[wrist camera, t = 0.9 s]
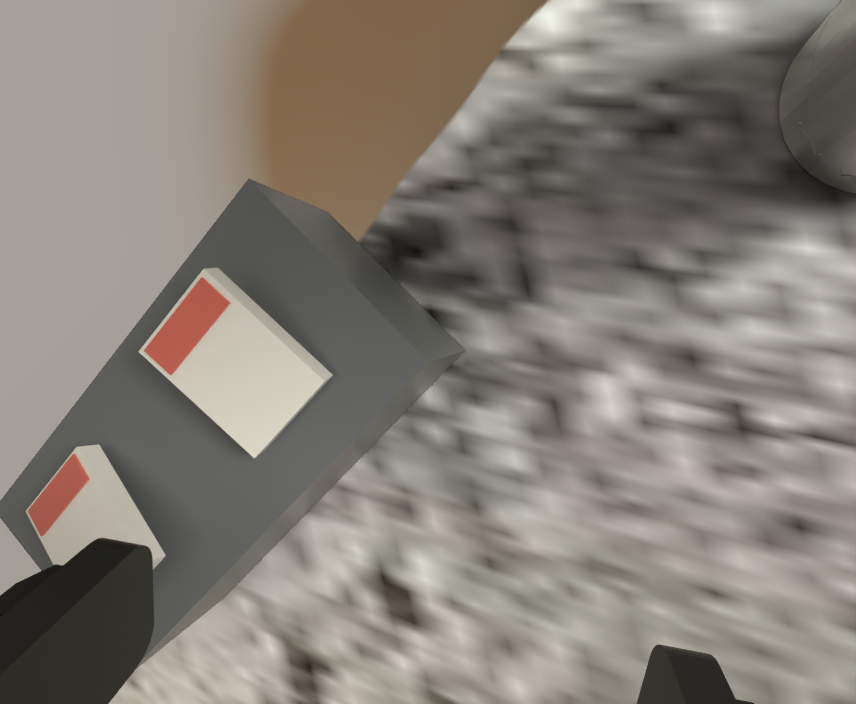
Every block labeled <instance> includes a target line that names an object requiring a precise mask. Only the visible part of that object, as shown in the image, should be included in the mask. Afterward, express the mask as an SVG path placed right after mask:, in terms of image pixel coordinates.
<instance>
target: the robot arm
mask: <svg viewBox="0 0 856 704" xmlns="http://www.w3.org/2000/svg"><path fill="white" fill-rule="evenodd" d="M779 120H780V126H781V129H782V133H783V137H784V140H785V142H786V144H787V146H788V148H789V150H790V151H791V153H792V155H793V157H794V158H795V159H796V160H797V161H798V163H799V164H800V165H801V166H802V167H803V168H804V169H805V170H806V171H807V172H808V173H809V174H811V175H812V176H814V177H815V178H817V179H819V180H820V181H822V182H823V183H825V184H827V185H829V186H832V187H834V188H837V189H840V190H842V191H845V192H850V193H856V0H841V2H840V3H839V4H838V5H837V6H836V8H835V9H834V10H833V11H832V12H831V13H830V15H829V16H828V17H827V18H826V19H825V20H824V22H823V23H822V24H821V25H820V26H819V28H818V29H817V30H816V31H815V32H814V33H813V35H812V36H811V37H810V38H809V39H808V41H807V42H806V43H805V44H804V46H803V47H802V48H801V50H800V51H799V53H798V54H797V56H796V57H795V58H794V60H793V61H792V63H791V65H790V68H789V70H788V72H787V74H786V77H785V79H784V81H783V85H782V90H781V95H780V100H779ZM153 628H154V596H153V559H152V553H151V550H150V548H149V547H147V546H145V545H140V544H134V543H129V542H124V541H118V540H113V539H108V538H98V539H96V540H94V541H92V542H91V543H90V544H88V545H87V546H86V547H85V548H84V549H82V550H81V551H80V552H79V553H77V554H76V555H75V556H74V557H73V558H71V559H70V560H69V561H68V562H67V563H65V564H64V565H63V566H62V565H57V564H55V565H53V566H51V567H49V568H47V569H45V570H43V571H41V572H39V573H37V574H35V575H33V576H31V577H28V578H27V579H24V580H22V581H20V582H18V583H16V584H15V585H13V586H12V587H11V588H10V589H8V590H7V591H6V592H4V593H3V594H2V595H1V596H0V704H108V703H109V702H110V701H111V700H112V698H113V697H114V696H115V694H116V693H117V692H118V691H119V689H120V688H121V687H122V686H123V684H124V683H125V682H126V680H127V679H128V678H129V677H130V675H131V674H132V673H133V672H134V670H135V669H136V668H137V666H138V665H139V663H140V662H141V660H142V659H143V657H144V655H145V653H146V651H147V648H148V646H149V643H150V641H151V637H152V633H153ZM637 704H754V703H752V702H747V701H741V700H736V699H735V697H734V695H733V693H732V691H731V689H730V687H729V684H728V682H727V680H726V678H725V676H724V674H723V672H722V670H721V668H720V666H719V664H718V662H717V660H716V659H715V658H714V657H713V656H712V655H710V654H706V653H701V652H696V651H690V650H685V649H680V648H675V647H669V646H664V645H656V646H655V647H654V648H653V650H652V652H651V655H650V659H649V662H648V666H647V669H646V673H645V676H644V680H643V683H642V687H641V690H640V694H639V698H638V701H637Z"/></svg>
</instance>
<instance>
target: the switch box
mask: <svg viewBox="0 0 856 704" xmlns="http://www.w3.org/2000/svg"><path fill="white" fill-rule="evenodd" d="M206 268H219V269H220V270H221V271H222V272H223V273H224V274H225V275H226V276H227V277H228V278H229V279H231V280H232V281H233V282H234V283H235V284H236V285H237V286H238V287H239V288H240V289H241V290H242V291H243V292H245V293H246V294H247V295H248V296H249V297H250V298H251V299H252V300H253V301H254V302H255V303H256V304H257V305H258V306H260V307H261V308H262V309H263V310H264V311H265V312H266V313H267V314H268V315H269V316H270V317H271V318H272V319H273V320H275V321H276V322H277V323H278V324H279V325H280V326H281V327H282V328H283V329H284V330H285V331H286V332H287V333H289V334H290V335H291V336H292V337H293V338H294V339H295V340H296V341H297V342H298V343H299V344H300V345H301V346H302V347H304V348H305V349H306V350H307V351H308V352H309V353H310V354H311V355H312V356H313V357H314V358H315V359H316V360H317V361H319V362H320V363H321V364H322V365H323V366H324V367H325V368H326V369H327V370H328V371H329V372H330V373H331V374H333V376H332V377H331V378H330V379H329V380H328V381H327V382H326V383H325V384H324V386H323V387H322V388H321V389H320V390H319V391H318V392H317V393H316V394H315V395H314V397H313V398H312V399H311V400H310V401H309V402H308V403H307V404H306V405H305V406H304V408H303V409H302V410H301V411H300V412H299V413H298V414H297V415H296V416H295V417H294V419H293V420H292V421H291V422H290V423H289V424H288V425H287V426H286V427H285V428H284V429H283V431H282V432H281V433H280V434H279V435H278V436H277V437H276V438H275V439H274V440H273V442H272V443H271V444H270V445H269V446H268V447H267V448H266V449H265V450H264V451H263V452H262V453H260V454H259V455H258V456H257V457H256V458H255V459H254V458H253V457H252V456H251V455H250V454H249V453H248V452H247V451H246V450H245V449H244V448H242V447H241V446H240V445H239V444H238V443H237V442H236V441H235V440H234V439H233V438H232V437H231V436H229V435H228V434H227V433H226V432H225V431H224V430H223V429H222V428H221V427H220V426H219V425H217V424H216V423H215V422H214V421H213V420H212V419H211V418H210V417H209V416H208V415H207V414H206V413H204V412H203V411H202V410H201V409H200V408H199V407H198V406H197V405H196V404H195V403H194V402H192V401H191V400H190V399H189V398H188V397H187V396H186V395H185V394H184V393H183V392H182V391H181V390H179V389H178V388H177V387H176V386H175V385H174V384H173V383H172V382H171V381H170V380H169V379H167V378H166V377H165V376H164V375H163V374H162V373H161V372H160V371H159V370H158V369H157V368H156V367H154V366H153V365H152V364H151V363H150V362H149V361H148V360H147V359H146V358H145V357H144V356H142V355H141V354H140V353H139V350H140V349H141V348H142V347H143V345H144V344H145V343H146V341H147V340H148V339H149V338H150V336H151V335H152V334H153V333H154V331H155V330H156V329H157V327H158V326H159V325H160V324H161V322H162V321H163V320H164V318H165V317H166V316H167V315H168V313H169V312H170V311H171V310H172V308H173V307H174V306H175V304H176V303H177V302H178V301H179V299H180V298H181V297H182V296H183V294H184V293H185V292H186V290H187V289H188V288H189V287H190V285H191V284H192V283H193V282H194V280H195V279H196V278H197V276H198V275H199V274H200V273H201V271H202V270H203V269H206ZM464 351H465V349H464V348H463V347H462V346H461V345H460V344H459V343H458V342H457V341H456V340H455V339H454V338H453V337H452V336H451V335H450V334H449V333H448V332H447V331H446V330H445V329H444V328H443V327H442V326H441V325H440V324H439V323H438V322H437V321H436V320H435V319H434V318H433V317H432V316H431V315H430V314H429V313H428V312H427V311H426V310H425V309H424V308H423V307H422V306H421V305H420V304H419V303H418V302H417V301H416V300H415V299H414V298H413V297H412V296H411V295H410V294H409V293H408V292H407V291H406V290H405V289H404V288H403V287H402V286H401V285H400V284H399V283H398V282H397V281H396V280H395V279H394V278H393V277H392V276H391V275H390V274H389V273H388V272H387V271H386V270H385V269H384V268H383V267H382V266H381V265H380V264H379V263H378V262H377V261H376V260H375V259H374V258H373V257H372V256H371V255H370V254H369V253H368V252H367V251H366V250H365V249H364V248H363V247H362V246H361V245H360V244H359V243H358V242H357V241H356V240H355V239H354V238H353V237H352V236H351V235H350V234H349V233H348V232H347V231H346V230H345V229H344V228H343V227H342V226H341V225H340V224H339V223H338V222H337V221H336V220H335V219H334V218H333V217H332V216H331V215H330V214H329V213H328V212H326V211H324V210H321V209H319V208H317V207H314V206H312V205H310V204H307V203H305V202H303V201H300V200H298V199H296V198H293V197H291V196H288V195H286V194H284V193H281V192H279V191H277V190H274V189H272V188H270V187H267V186H265V185H263V184H260V183H258V182H255V181H253V180H251V179H248V180H247V182H246V183H245V184H244V186H243V187H242V188H241V190H240V191H239V192H238V193H237V195H236V196H235V198H234V199H233V200H232V201H231V203H230V204H229V205H228V206H227V208H226V209H225V210H224V212H223V213H222V214H221V215H220V217H219V218H218V219H217V221H216V222H215V223H214V225H213V226H212V227H211V228H210V230H209V231H208V232H207V234H206V235H205V236H204V237H203V239H202V240H201V241H200V243H199V244H198V245H197V247H196V248H195V249H194V250H193V252H192V253H191V255H190V256H189V257H188V258H187V260H186V261H185V262H184V263H183V265H182V266H181V267H180V269H179V270H178V271H177V272H176V274H175V275H174V276H173V278H172V279H171V280H170V282H169V283H168V284H167V286H166V287H165V288H164V289H163V291H162V292H161V293H160V295H159V296H158V297H157V298H156V300H155V301H154V302H153V304H152V305H151V306H150V308H149V309H148V310H147V311H146V313H145V314H144V315H143V317H142V318H141V319H140V320H139V322H138V323H137V324H136V326H135V327H134V328H133V330H132V331H131V332H130V333H129V335H128V336H127V338H126V339H125V340H124V341H123V343H122V344H121V345H120V346H119V348H118V349H117V350H116V352H115V353H114V354H113V355H112V357H111V358H110V359H109V361H108V362H107V363H106V365H105V366H104V367H103V368H102V370H101V371H100V372H99V374H98V375H97V376H96V378H95V379H94V380H93V382H92V383H91V384H90V385H89V387H88V388H87V389H86V391H85V392H84V393H83V394H82V396H81V397H80V399H79V400H78V401H77V402H76V403H75V405H74V406H73V407H72V409H71V410H70V411H69V413H68V414H67V415H66V416H65V418H64V419H63V420H62V422H61V423H60V424H59V426H58V427H57V428H56V429H55V431H54V432H53V433H52V435H51V436H50V437H49V439H48V440H47V441H46V442H45V444H44V445H43V446H42V448H41V449H40V450H39V451H38V453H37V454H36V455H35V457H34V458H33V459H32V461H31V462H30V463H29V464H28V466H27V467H26V468H25V470H24V471H23V472H22V474H21V475H20V477H18V479H17V480H16V481H15V483H14V484H13V485H12V487H11V488H10V489H9V490H8V492H7V493H6V494H5V496H4V497H3V498H2V500H1V501H0V518H1V519H2V521H3V522H4V523H5V524H6V525H7V527H8V528H9V529H10V531H11V532H12V533H13V535H14V536H15V537H16V538H17V540H18V541H19V542H20V543H21V545H22V546H23V547H24V549H25V550H26V551H27V553H28V554H29V555H30V556H31V558H32V559H33V560H34V561H35V563H36V564H37V565H38V567H39V568H40V569H41V570H42V571H43V570H45V569H47V568H49V567H51V566H53V563H52V561H51V559H50V557H49V555H48V553H47V552H46V550H45V548H44V546H43V544H42V542H41V540H40V538H39V536H38V534H37V532H36V530H35V529H34V527H33V525H32V523H31V521H30V519H29V517H28V515H27V513H26V510H27V509H28V507H29V506H30V505H31V504H32V502H33V501H34V500H35V499H36V497H37V496H38V495H39V494H40V492H41V491H42V490H43V489H44V487H45V486H46V485H47V483H48V482H49V481H50V480H51V478H52V477H53V476H54V475H55V473H56V472H57V471H58V470H59V468H60V467H61V466H62V465H63V463H64V462H65V461H66V460H67V458H68V457H69V456H70V454H71V453H72V452H73V451H74V449H75V448H76V447H79V446H89V445H100V447H101V448H102V450H103V452H104V453H105V455H106V457H107V458H108V460H109V462H110V463H111V465H112V467H113V468H114V470H115V472H116V473H117V475H118V477H119V478H120V480H121V482H122V483H123V485H124V487H125V488H126V490H127V492H128V493H129V495H130V497H131V498H132V500H133V502H134V503H135V505H136V507H137V508H138V510H139V512H140V513H141V515H142V517H143V518H144V520H145V522H146V523H147V525H148V527H149V528H150V530H151V532H152V533H153V535H154V537H155V538H156V540H157V542H158V543H159V545H160V547H161V548H162V550H163V552H164V553H165V555H166V556H165V557H164V558H163V559H162V561H161V562H160V563H159V564H158V565H157V566H156V567H155V568H154V569H153V596H154V628H153V633H152V637H151V641H150V643H149V646H148V648H147V651H146V653H145V655H144V657H143V659H142V660H141V662H140V663H139V665H138V666H137V668H138V667H139V666H140V665H141V664H143V663H144V662H145V661H146V660H148V659H149V658H150V657H151V656H153V655H154V654H155V653H156V652H158V651H159V650H160V649H161V648H163V647H164V646H165V645H166V644H168V643H169V642H170V641H171V640H172V639H174V638H175V637H176V636H177V635H179V634H180V633H181V632H182V631H184V630H185V629H186V628H187V627H189V626H190V625H191V624H192V623H194V622H195V621H196V620H197V619H199V618H200V617H201V616H202V615H204V614H205V613H206V612H207V611H208V610H210V609H211V608H212V607H213V606H215V605H216V604H217V603H218V602H220V601H221V600H222V599H223V598H224V597H225V596H226V595H227V594H228V593H229V592H230V591H231V590H232V589H233V588H234V587H235V586H236V585H237V584H238V583H239V582H240V581H241V580H242V579H243V578H244V577H245V576H246V575H247V574H248V573H249V572H250V571H251V570H252V569H253V568H254V567H255V566H256V565H257V564H258V563H259V562H260V561H261V559H262V558H263V557H264V556H265V555H266V554H267V553H268V552H269V551H270V550H271V549H272V548H273V547H274V546H275V545H276V544H277V543H278V542H279V541H280V540H281V539H282V538H283V537H284V536H285V535H286V534H287V533H288V532H289V531H290V530H291V529H292V528H293V527H294V526H295V525H296V524H297V523H298V522H299V520H300V519H301V518H302V517H303V516H304V515H305V514H306V513H307V512H308V511H309V510H310V509H311V508H312V507H313V506H314V505H315V504H316V503H317V502H318V501H319V500H320V499H321V498H322V497H323V496H324V495H325V494H326V493H327V492H328V491H329V490H330V489H331V488H332V487H333V486H334V485H335V484H336V483H337V482H338V480H339V479H340V478H341V477H342V476H343V475H344V474H345V473H346V472H347V471H348V470H349V469H350V468H351V467H352V466H353V465H354V464H355V463H356V462H357V461H358V460H359V459H360V458H361V457H362V456H363V455H364V454H365V453H366V452H367V451H368V450H369V449H370V448H371V447H372V446H373V445H374V444H375V443H376V442H377V440H378V439H379V438H380V437H381V436H382V435H383V434H384V433H385V432H386V431H387V430H388V429H389V428H390V427H391V426H392V425H393V424H394V423H395V422H396V421H397V420H398V419H399V418H400V417H401V416H402V415H403V414H404V413H405V412H406V411H407V410H408V409H409V408H410V407H411V406H412V405H413V404H414V403H415V401H416V400H417V399H418V398H419V397H420V396H421V395H422V394H423V393H424V392H425V391H426V390H427V389H428V388H429V387H430V386H431V385H432V384H433V383H434V382H435V381H436V380H437V379H438V378H439V377H440V376H441V375H442V374H443V373H444V372H445V371H446V370H447V369H448V368H449V367H450V366H451V365H452V364H453V363H454V361H455V360H456V359H457V358H458V357H459V356H460V355H461V354H462V353H463V352H464Z"/></svg>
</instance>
